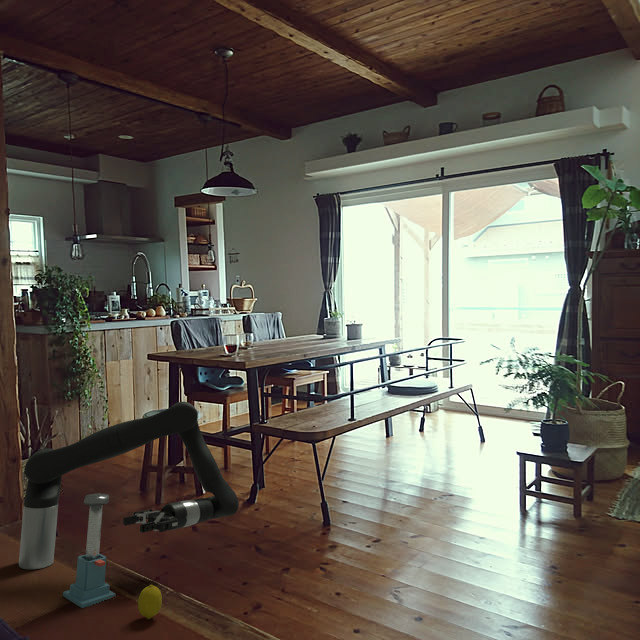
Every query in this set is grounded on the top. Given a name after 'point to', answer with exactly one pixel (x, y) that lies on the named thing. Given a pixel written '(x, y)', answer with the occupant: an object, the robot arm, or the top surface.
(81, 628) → the top surface
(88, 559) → the column
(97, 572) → the stand base
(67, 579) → the top surface
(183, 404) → the robot arm
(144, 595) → the lemon
